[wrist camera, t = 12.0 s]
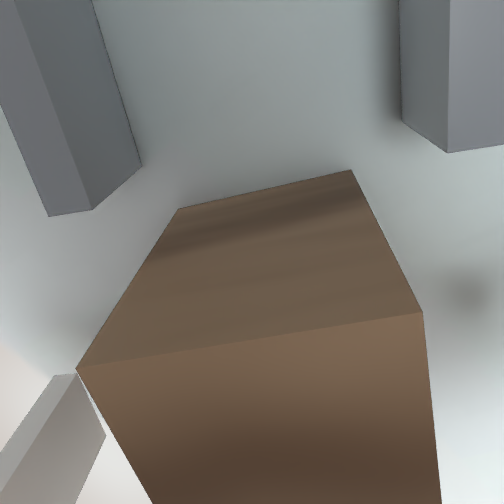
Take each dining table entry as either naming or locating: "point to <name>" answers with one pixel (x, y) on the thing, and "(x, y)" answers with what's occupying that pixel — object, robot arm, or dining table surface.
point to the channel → (116, 123)
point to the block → (271, 357)
